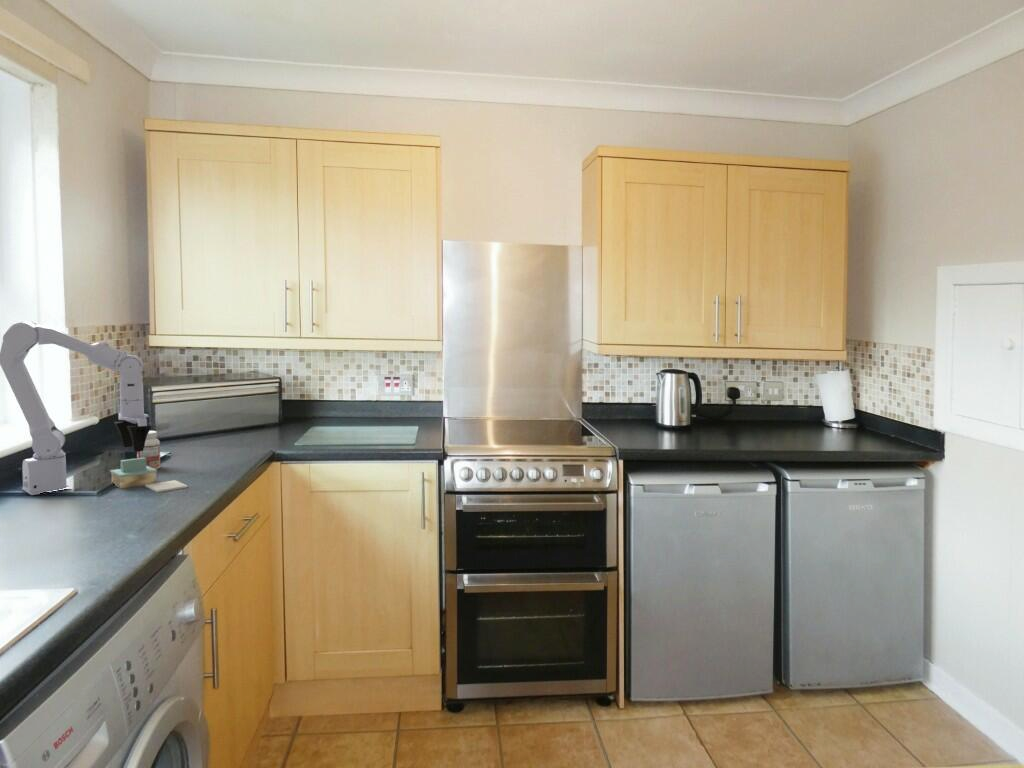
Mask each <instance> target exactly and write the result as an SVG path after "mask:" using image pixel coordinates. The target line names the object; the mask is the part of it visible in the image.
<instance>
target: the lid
mask: <svg viewBox="0 0 1024 768" xmlns="http://www.w3.org/2000/svg"><path fill="white" fill-rule="evenodd" d="M109 472H110V473H112V474H115V475H117V476H119V477H127V476H134V475H141V474H148V473H155V472H156V473H158V469H153V468H151V467H149V466H147V465H146V458H144V457H142V458H137V457H136V458H128V459H121V460H120V468H117V469H110V470H109Z"/></svg>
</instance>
